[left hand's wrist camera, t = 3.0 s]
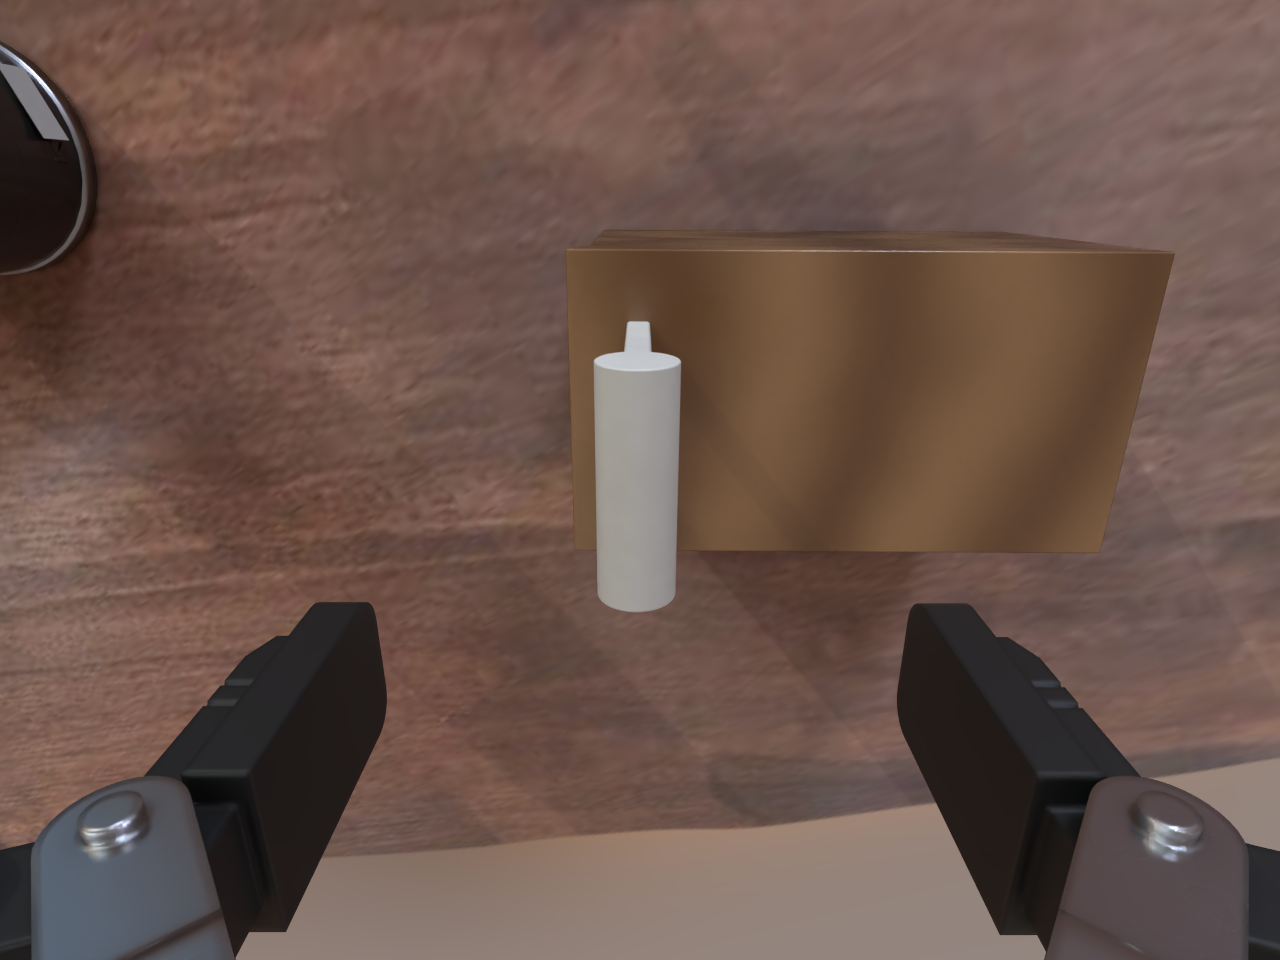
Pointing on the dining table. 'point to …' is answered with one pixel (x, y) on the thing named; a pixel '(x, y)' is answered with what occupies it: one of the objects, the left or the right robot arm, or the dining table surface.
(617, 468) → the lid
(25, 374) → the dining table surface
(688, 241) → the chest
